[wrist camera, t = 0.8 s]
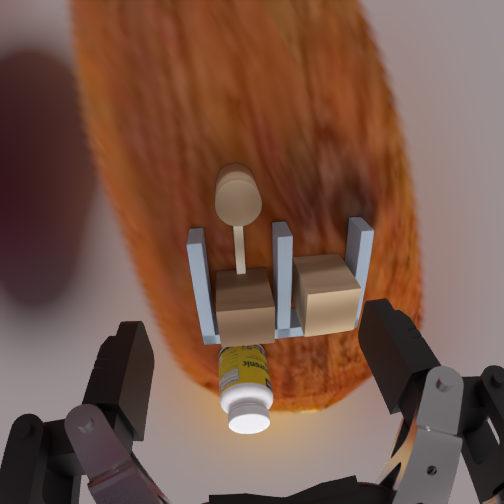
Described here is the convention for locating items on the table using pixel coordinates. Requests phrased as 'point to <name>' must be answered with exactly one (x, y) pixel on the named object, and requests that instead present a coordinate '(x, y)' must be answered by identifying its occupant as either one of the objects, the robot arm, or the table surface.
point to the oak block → (324, 294)
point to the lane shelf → (275, 276)
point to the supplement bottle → (245, 388)
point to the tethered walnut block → (241, 266)
